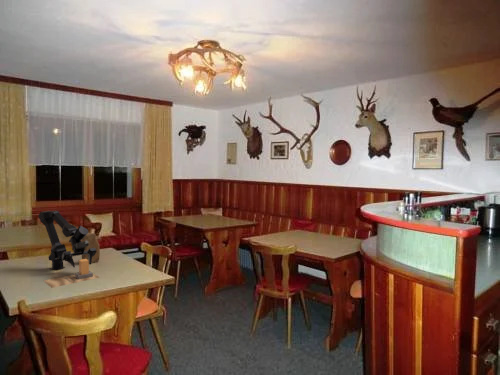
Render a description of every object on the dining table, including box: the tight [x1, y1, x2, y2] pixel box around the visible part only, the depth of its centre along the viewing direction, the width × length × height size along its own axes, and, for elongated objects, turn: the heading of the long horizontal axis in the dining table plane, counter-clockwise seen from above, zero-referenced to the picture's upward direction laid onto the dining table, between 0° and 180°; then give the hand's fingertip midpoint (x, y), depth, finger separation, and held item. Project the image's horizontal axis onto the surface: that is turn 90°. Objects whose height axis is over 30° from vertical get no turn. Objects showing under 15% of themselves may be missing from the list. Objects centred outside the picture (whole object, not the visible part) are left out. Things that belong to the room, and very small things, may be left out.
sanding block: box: [74, 258, 94, 279], centre depth 212 cm, size 8×7×10 cm
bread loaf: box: [81, 232, 101, 265], centre depth 246 cm, size 11×8×20 cm
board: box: [43, 273, 101, 289], centre depth 208 cm, size 26×16×1 cm, turn 134°
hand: (82, 265), depth 213 cm, fingers open, 9 cm apart
